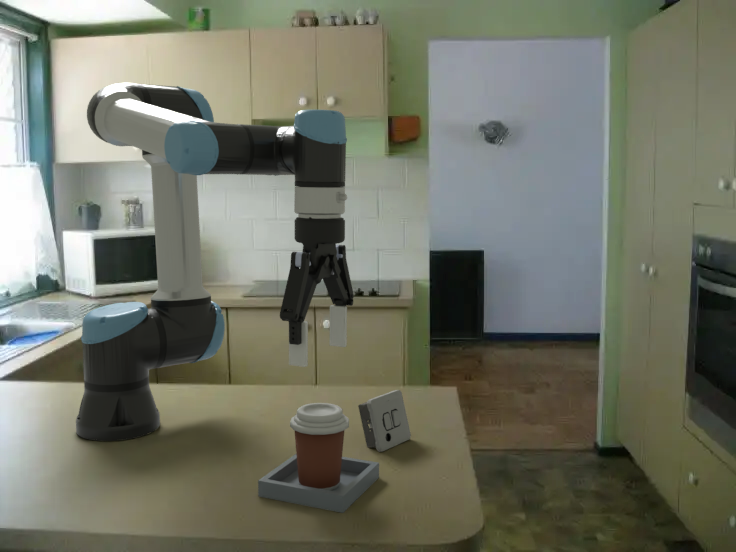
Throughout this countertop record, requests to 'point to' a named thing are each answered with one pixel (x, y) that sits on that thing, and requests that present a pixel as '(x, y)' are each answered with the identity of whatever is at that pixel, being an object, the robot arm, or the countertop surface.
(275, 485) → the dock tray
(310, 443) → the coffee cup
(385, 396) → the electrical switch
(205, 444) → the countertop surface
